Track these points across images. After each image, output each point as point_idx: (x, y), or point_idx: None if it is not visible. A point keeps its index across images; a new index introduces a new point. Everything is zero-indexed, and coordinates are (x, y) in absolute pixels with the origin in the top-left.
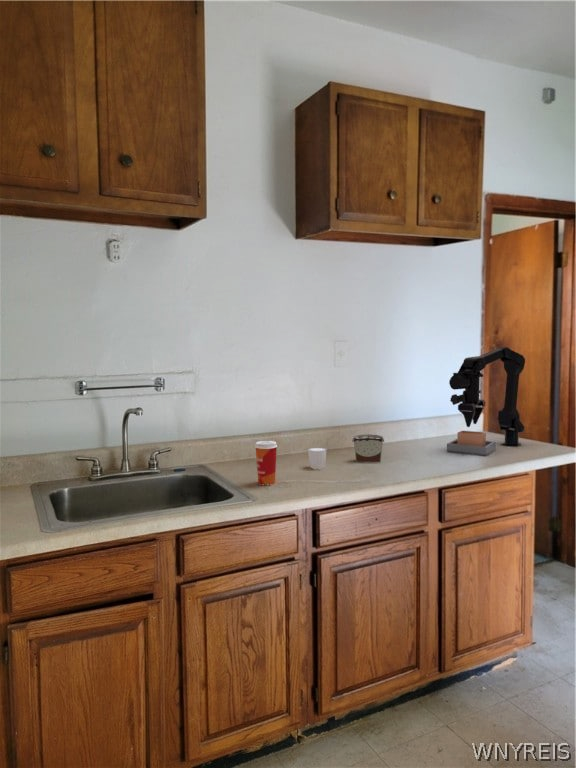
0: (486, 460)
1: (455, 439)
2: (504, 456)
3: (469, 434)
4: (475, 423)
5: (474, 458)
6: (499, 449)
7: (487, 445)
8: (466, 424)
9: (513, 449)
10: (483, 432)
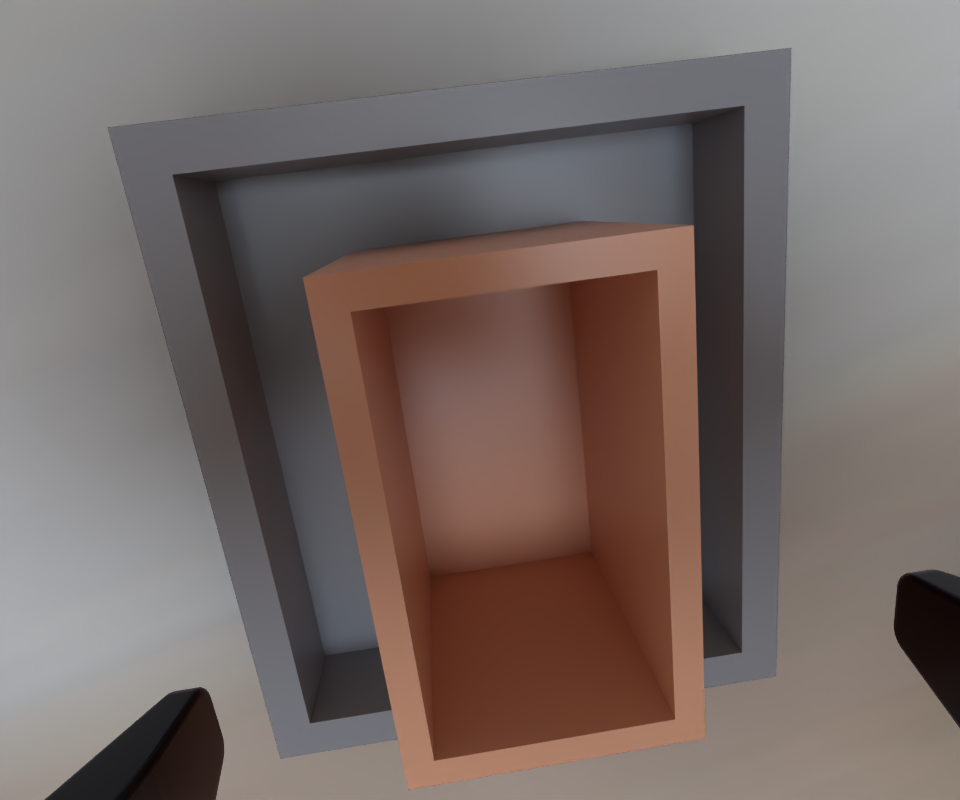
0: None
1: (643, 66)
2: (436, 794)
3: (366, 555)
4: (906, 634)
5: (88, 623)
6: (782, 619)
7: None
8: (106, 757)
9: (855, 720)
10: (687, 704)
